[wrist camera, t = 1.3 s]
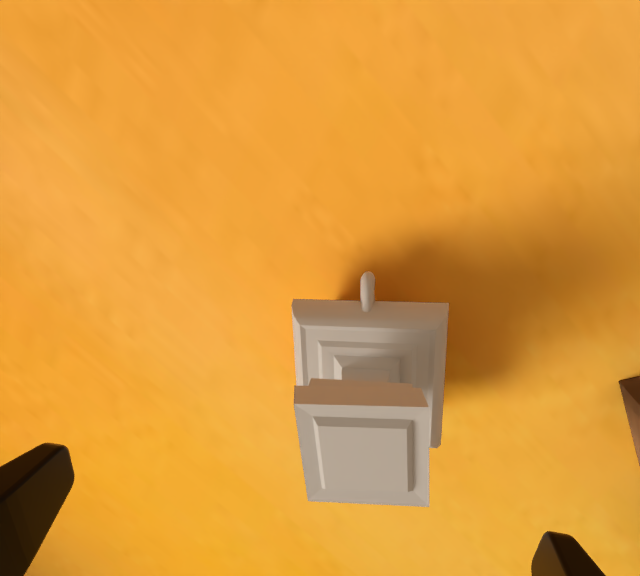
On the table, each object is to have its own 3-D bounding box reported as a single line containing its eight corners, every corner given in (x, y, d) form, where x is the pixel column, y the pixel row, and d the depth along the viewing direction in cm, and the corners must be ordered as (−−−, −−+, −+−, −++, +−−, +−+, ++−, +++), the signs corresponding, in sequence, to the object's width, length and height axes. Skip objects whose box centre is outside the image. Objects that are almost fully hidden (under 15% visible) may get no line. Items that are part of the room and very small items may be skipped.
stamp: (301, 258, 22) (244, 330, 14) (445, 258, 21) (471, 336, 13) (311, 419, 25) (268, 554, 17) (437, 427, 23) (455, 576, 16)
